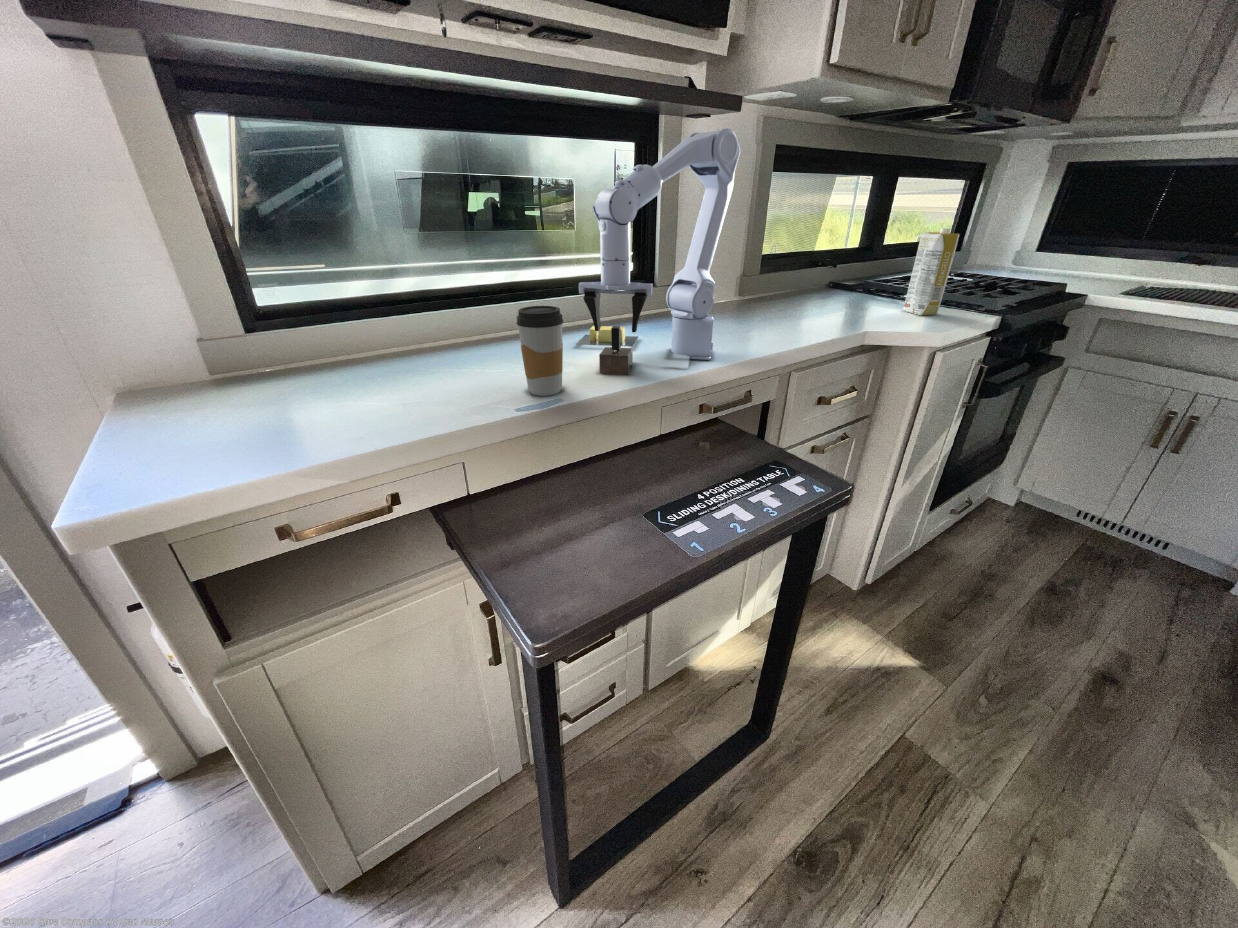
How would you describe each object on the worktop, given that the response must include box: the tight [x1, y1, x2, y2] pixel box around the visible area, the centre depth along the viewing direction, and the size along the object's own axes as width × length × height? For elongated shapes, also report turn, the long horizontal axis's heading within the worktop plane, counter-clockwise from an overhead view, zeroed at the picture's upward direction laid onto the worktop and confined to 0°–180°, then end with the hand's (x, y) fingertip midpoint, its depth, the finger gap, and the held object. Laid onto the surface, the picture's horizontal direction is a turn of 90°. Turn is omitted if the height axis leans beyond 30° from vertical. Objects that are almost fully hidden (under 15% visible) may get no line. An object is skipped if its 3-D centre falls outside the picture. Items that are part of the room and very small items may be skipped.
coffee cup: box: [516, 305, 564, 397], centre depth 93 cm, size 8×8×15 cm
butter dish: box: [576, 334, 639, 348], centre depth 127 cm, size 14×10×1 cm
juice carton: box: [902, 227, 960, 316], centre depth 153 cm, size 9×8×24 cm
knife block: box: [598, 346, 634, 376], centre depth 107 cm, size 6×6×4 cm
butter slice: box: [588, 325, 598, 342], centre depth 126 cm, size 1×4×3 cm, turn 170°
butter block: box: [598, 325, 626, 343], centre depth 125 cm, size 6×4×3 cm, turn 80°
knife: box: [611, 325, 622, 354], centre depth 105 cm, size 2×3×9 cm, turn 170°
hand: (615, 330), depth 104 cm, fingers open, 7 cm apart
